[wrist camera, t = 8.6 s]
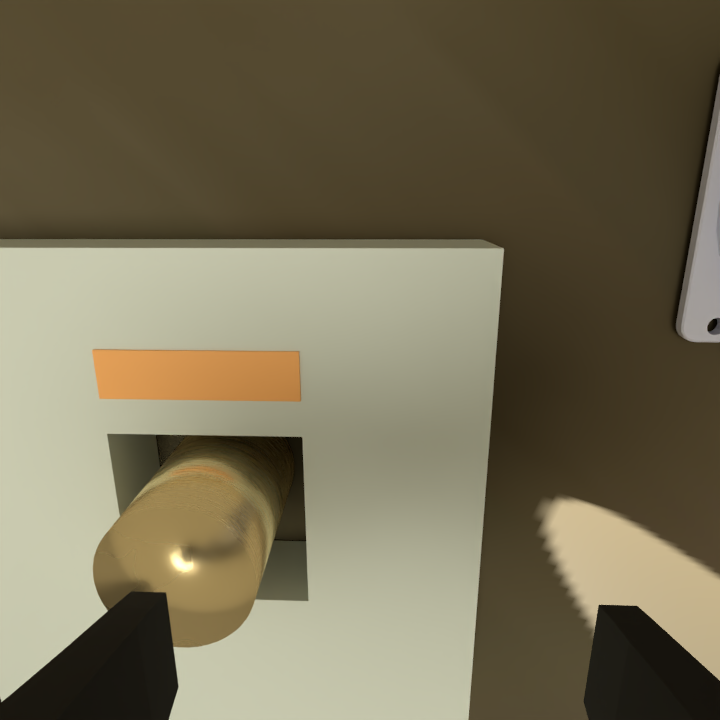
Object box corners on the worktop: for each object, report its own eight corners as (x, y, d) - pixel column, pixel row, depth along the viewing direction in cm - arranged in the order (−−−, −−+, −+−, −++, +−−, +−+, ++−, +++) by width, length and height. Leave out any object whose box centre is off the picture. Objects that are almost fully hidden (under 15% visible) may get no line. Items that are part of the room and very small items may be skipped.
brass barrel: (295, 414, 18) (255, 514, 12) (293, 517, 19) (257, 653, 13) (178, 407, 18) (84, 503, 12) (184, 510, 19) (100, 641, 13)
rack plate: (482, 239, 16) (504, 249, 13) (455, 659, 21) (468, 736, 18) (-31, 238, 17) (-121, 247, 14) (55, 645, 21) (2, 717, 18)
